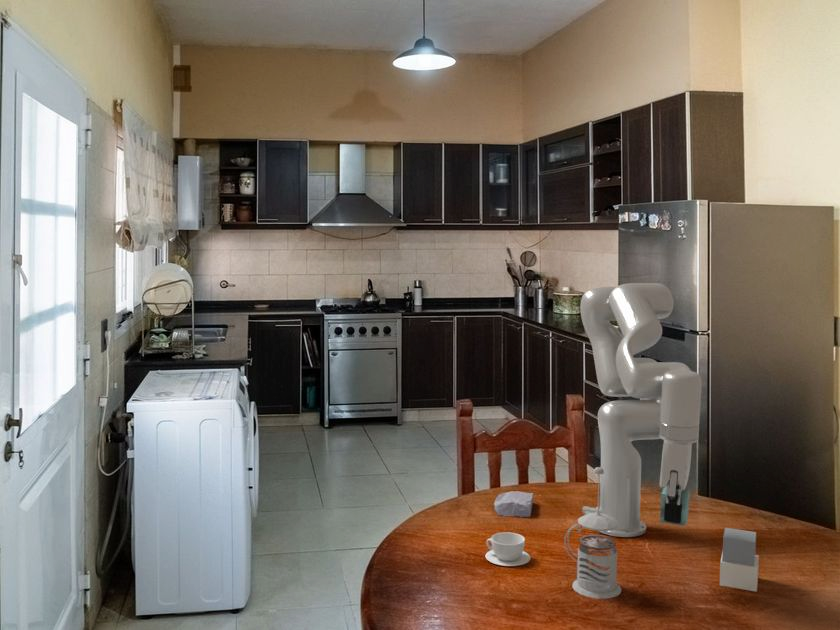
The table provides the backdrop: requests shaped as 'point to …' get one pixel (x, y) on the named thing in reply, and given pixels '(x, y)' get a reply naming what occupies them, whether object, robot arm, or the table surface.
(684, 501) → the teal pillar
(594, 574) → the french press
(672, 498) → the robot arm
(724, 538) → the tower top
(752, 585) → the block
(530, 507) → the stone block
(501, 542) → the teacup
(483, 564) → the table surface
